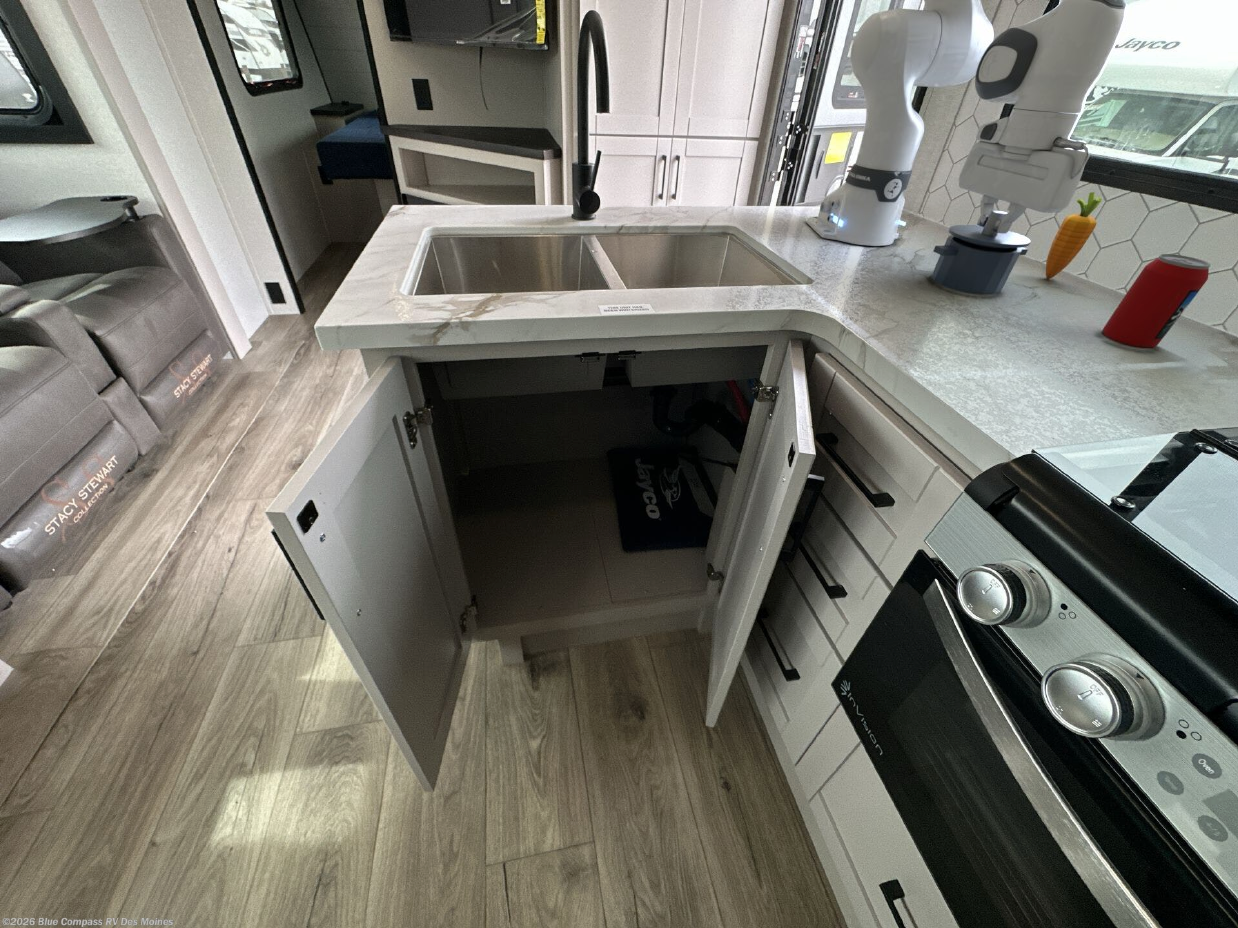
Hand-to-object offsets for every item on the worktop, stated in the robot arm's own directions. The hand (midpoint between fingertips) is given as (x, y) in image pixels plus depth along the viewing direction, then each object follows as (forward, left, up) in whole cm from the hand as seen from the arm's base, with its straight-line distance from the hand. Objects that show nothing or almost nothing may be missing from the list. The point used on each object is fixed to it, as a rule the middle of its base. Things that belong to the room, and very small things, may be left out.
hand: (991, 229), depth 88 cm
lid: (0, 0, -1) cm, 1 cm away
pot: (0, 0, -10) cm, 10 cm away
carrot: (-3, +21, -10) cm, 23 cm away
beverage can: (+24, +9, -10) cm, 27 cm away
